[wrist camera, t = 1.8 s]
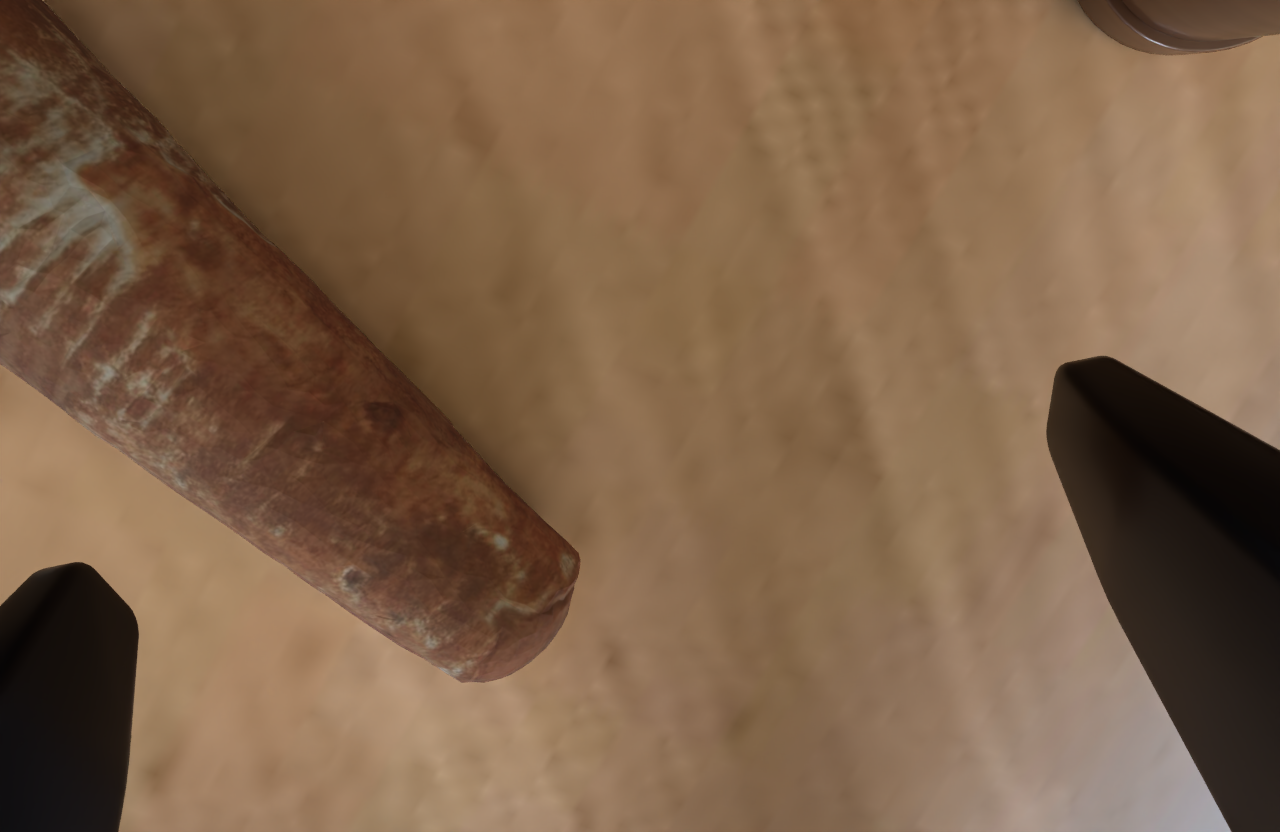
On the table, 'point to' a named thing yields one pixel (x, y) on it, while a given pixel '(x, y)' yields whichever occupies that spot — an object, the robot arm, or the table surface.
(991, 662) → the table surface
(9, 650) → the robot arm
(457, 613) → the brown cylinder
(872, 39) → the table surface
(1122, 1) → the pepper mill
